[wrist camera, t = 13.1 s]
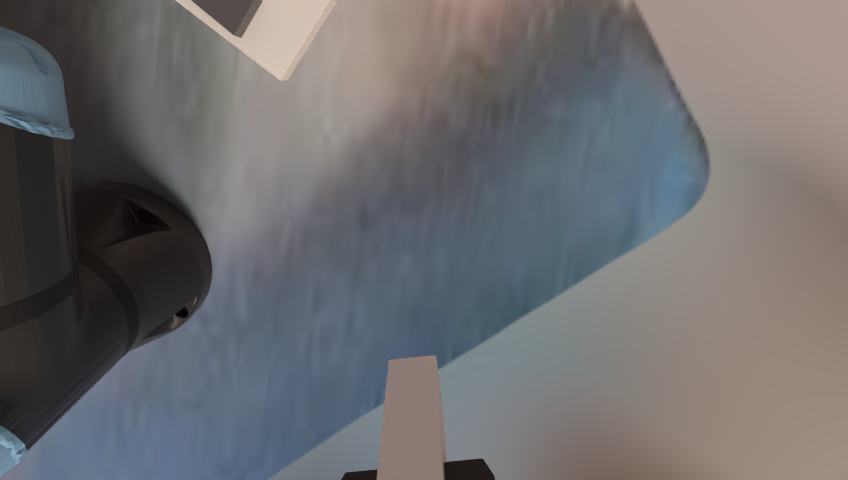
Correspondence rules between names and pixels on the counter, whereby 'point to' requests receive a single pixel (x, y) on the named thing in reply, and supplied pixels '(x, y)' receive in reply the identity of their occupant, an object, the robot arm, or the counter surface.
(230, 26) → the block
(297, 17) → the switch panel
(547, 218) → the counter surface
